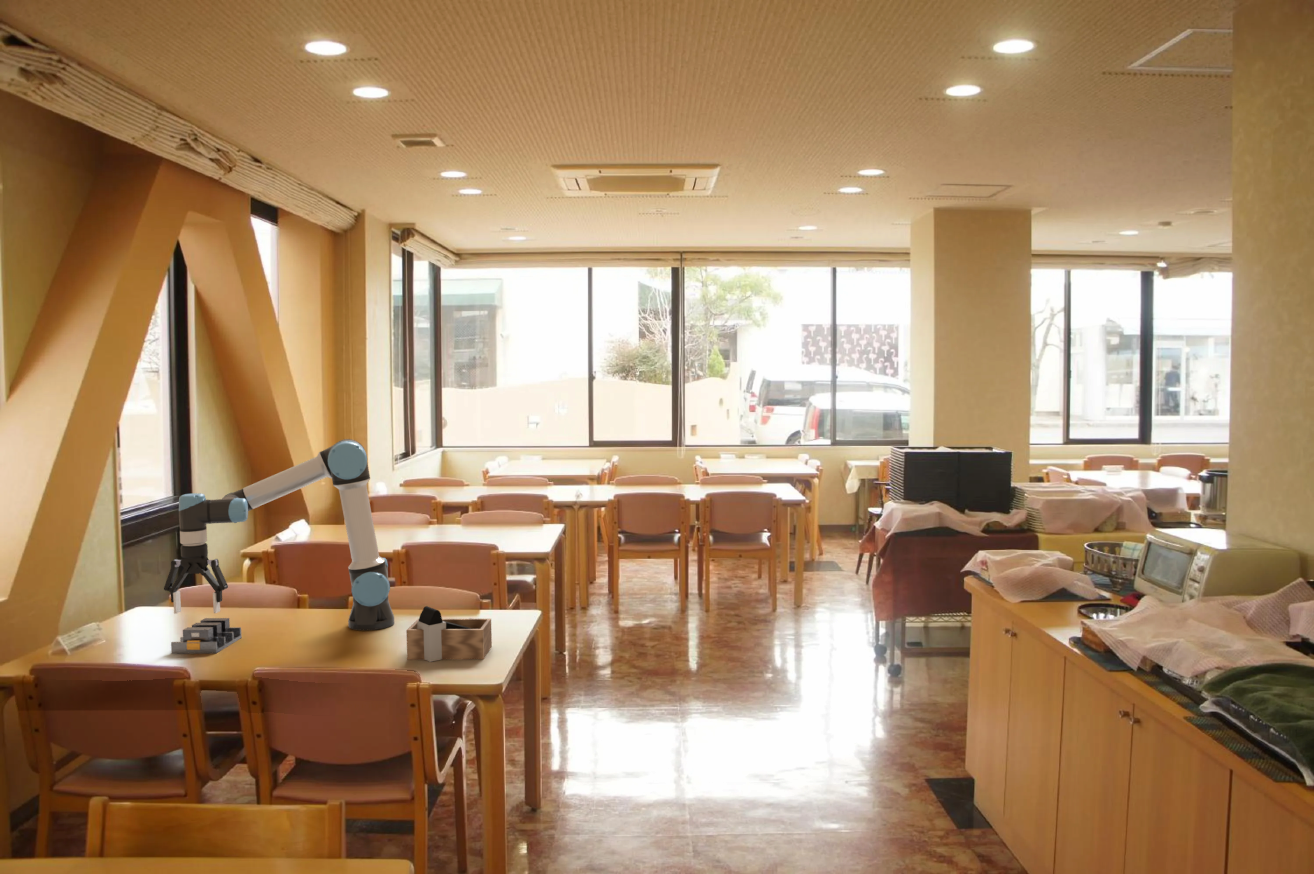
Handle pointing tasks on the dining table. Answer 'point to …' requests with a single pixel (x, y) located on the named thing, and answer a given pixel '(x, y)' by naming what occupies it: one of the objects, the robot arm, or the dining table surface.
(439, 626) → the decorative object
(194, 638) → the gray labeled box
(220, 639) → the rack
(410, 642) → the open wooden box
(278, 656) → the dining table surface
